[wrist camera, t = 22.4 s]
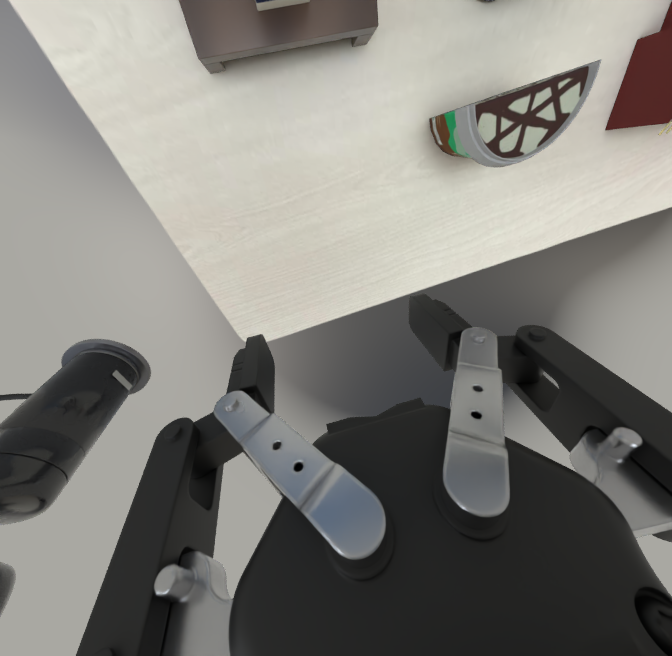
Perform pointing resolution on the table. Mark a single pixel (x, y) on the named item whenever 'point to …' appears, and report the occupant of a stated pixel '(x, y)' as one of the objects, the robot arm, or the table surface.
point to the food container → (515, 119)
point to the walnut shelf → (273, 26)
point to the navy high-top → (276, 3)
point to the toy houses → (647, 83)
